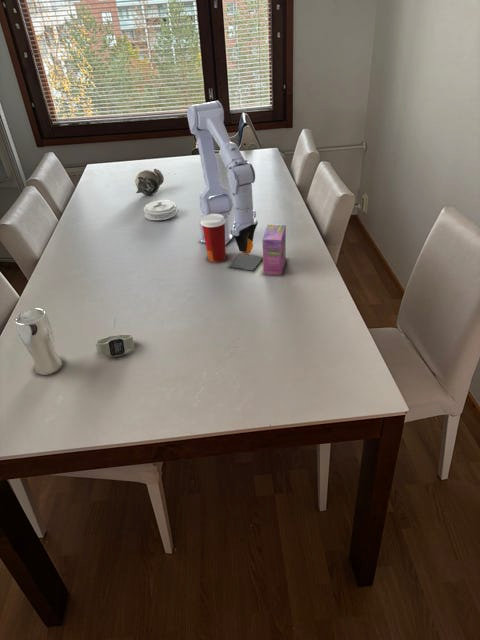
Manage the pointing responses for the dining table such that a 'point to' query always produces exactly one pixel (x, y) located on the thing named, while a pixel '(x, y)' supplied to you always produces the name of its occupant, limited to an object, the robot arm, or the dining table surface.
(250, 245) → the clementine
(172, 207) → the lid
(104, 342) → the wristwatch
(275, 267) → the box
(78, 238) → the dining table surface
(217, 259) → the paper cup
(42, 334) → the beer glass
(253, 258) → the felt pad
